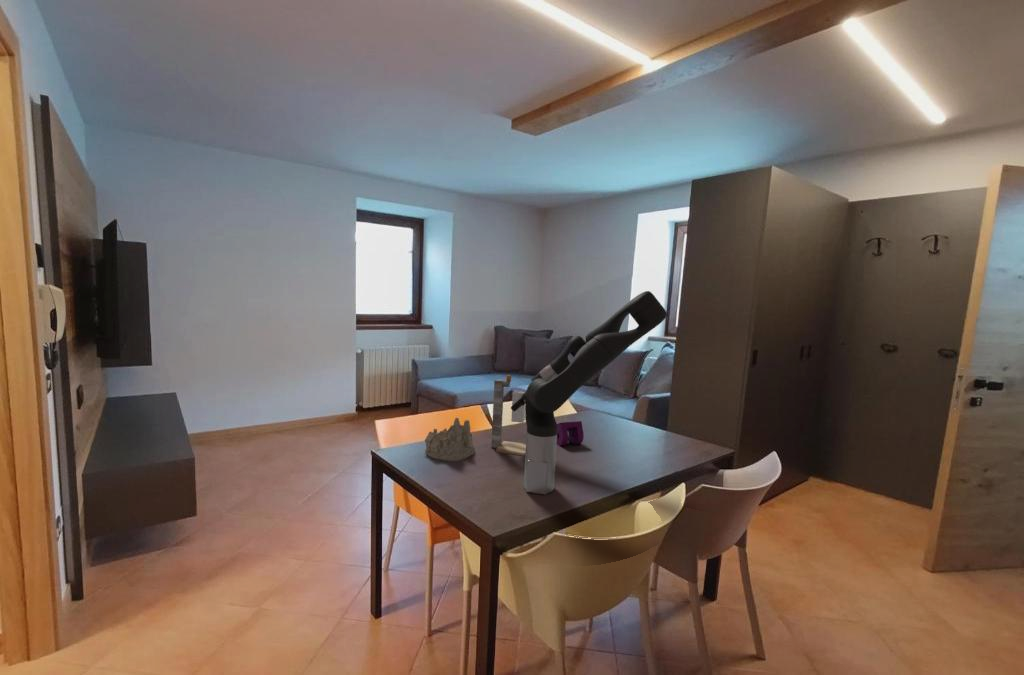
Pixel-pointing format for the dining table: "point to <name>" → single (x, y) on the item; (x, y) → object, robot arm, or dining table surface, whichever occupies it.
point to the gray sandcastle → (451, 442)
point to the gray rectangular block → (520, 412)
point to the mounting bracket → (571, 428)
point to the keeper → (497, 422)
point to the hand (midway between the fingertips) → (513, 407)
